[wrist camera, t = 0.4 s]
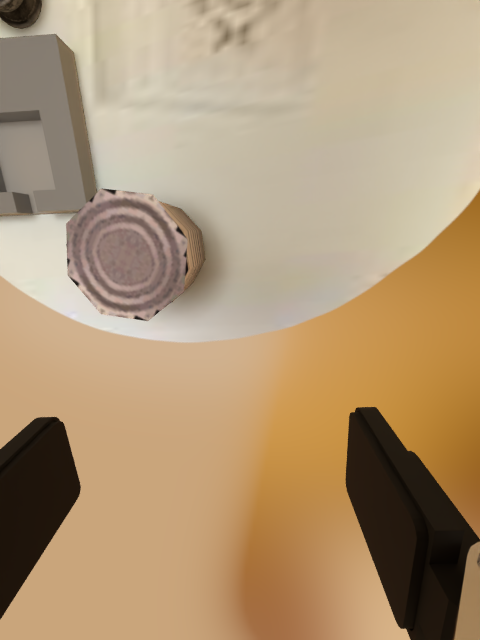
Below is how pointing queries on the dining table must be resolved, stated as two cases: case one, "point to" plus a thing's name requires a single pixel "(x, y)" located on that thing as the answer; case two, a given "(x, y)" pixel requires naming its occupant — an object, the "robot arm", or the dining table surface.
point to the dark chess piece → (20, 12)
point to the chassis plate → (42, 129)
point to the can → (132, 253)
